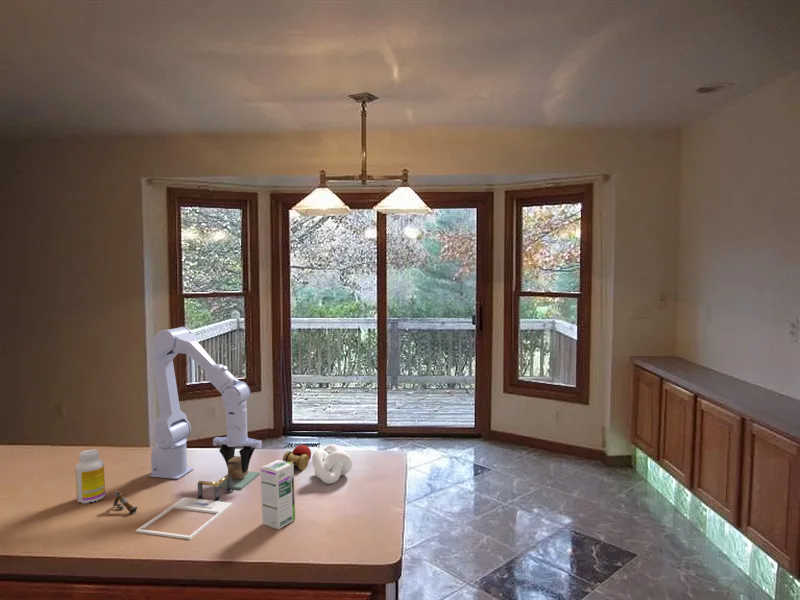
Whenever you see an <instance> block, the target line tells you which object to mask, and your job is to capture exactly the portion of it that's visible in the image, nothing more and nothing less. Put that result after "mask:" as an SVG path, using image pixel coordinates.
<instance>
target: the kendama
mask: <svg viewBox="0 0 800 600" xmlns="http://www.w3.org/2000/svg"><path fill="white" fill-rule="evenodd" d="M311 457H312V450H311V449H310V447H309V446H307V445H306V444H299V445H297V446H295V447H294V448H293V450H286V451H285V453H284V454H283V457H282V460H283V461H287V462H290V463H292V464H293V466H296V467H297V468H298V470H299V471H304V470H306V469H307V467H308V464H309V462H310V460H311Z"/></svg>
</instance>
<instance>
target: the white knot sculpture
mask: <svg viewBox="0 0 800 600" xmlns="http://www.w3.org/2000/svg"><path fill="white" fill-rule="evenodd" d="M311 457H312V465H313V470H314V475H315V476H316V477H317V478H318V479H320V480H321V481H322V482H323V483H325V484H327V485H331V484H332V483H333V484H335V483H336V482H338V480H340V479H339V478H340V477H342V475H343V476H345V475H347V474H349V473H350V472H351V469H352V468H353V460H352V457H351V456H350V455H349V454H348V453H347V452H345V451H341V448H340V447H339V446H338V445H337V444H333V443H331V444H329V445H328V446H326V447H324V449H320V448H319V449H317V450H315V451H314V452H313V454H312V456H311Z"/></svg>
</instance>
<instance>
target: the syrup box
mask: <svg viewBox="0 0 800 600" xmlns="http://www.w3.org/2000/svg"><path fill="white" fill-rule="evenodd" d="M294 466H295V465H294ZM294 466H293V464H292V463H290V462H287V461H283V459H276V460H274V461H272V462H270V463H268V464H265V465H262V466H260V467H259V469H260V471H259V472H260V494H261V520H262V521H261V523H262V524H263V525H264V526H267V527H269V528H273V529H276V530H281V529H282V528H283V527H285V526H287V525H289V524H290V523H292V522H294V521H295V520H296V503H295V500H296V499H295V473H294V472H295V471H294V468H295V467H294Z"/></svg>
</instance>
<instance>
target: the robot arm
mask: <svg viewBox="0 0 800 600" xmlns="http://www.w3.org/2000/svg"><path fill="white" fill-rule="evenodd" d="M152 343H153V349H152V354H151V358H152V359H151V361H152V367H153V372H154V373H153V374H154V381H155V386H156V393H157V401H158V406H159V414H160V415H159V417H158V418H157V420H156V421H155V423H154V428H155V429H154V430H155V431H154V432H153V433H154V434H153V439H154V442H155V444H156V445H154V446H153V448H152V450H151V454H150V456H151V457H150V458H151V459H150V460H151V474H149V477H150V478H151V477H153V478H161V479H171V480H179V479H180V478H182V477H184V476H186V475H187V474H189V473H190V472H191V471H193V470H194V467H191V466H190V467H189V466H188V459H187V457H188V454H187V451H188V450H187V441H188V438H189V436H190V435H191V433H192V427H191V424H190V422H189V420H188V417H187V414H186V413H185V412H183V411H182V410H181V407H180V401H179V400H180V399H179V398H180V397H179V394H178V393H179V392H178V386H177V380H176V372H175V366H174V359H175V358H176V357H177V356H178V354H185V355H188V357H190V358H191V359H192V360H193V361H194V362H195V363H196V364H198V366H199V367H200V368H202V369H203V370H204V371H205V372H206V377H205V378H206V379H207V381H209V383H211V384H212V385H213V387H215V388H216V390H217V391H218V392H219V393H220V394H221V397H220V398H221V400H222V403H223V404H224V407H225V412H226V413H225V417H226V421H225V422H226V436H222V437H220V436H217V437H214V438H213V439H212V446H214V447H215V446H216V447H217V446H221V448H219V449H218V450H219V453H220V454H221V456H222V458H223V460H224V461H225V465H226V467H227V469H228V461H229V460H230V459H231V458H233V457H234V456H235V454H236V453H235V452H236V447H239V448H241V449H240V450H238V452H239V455H240V457H241V461H242V472H243V473H245V472H246V471H249V466H250V462H251V459H252V456H253V453H254V452H255V450H260V449H261V448H262V446H263V445H262V444H263V441H262V440H260V439H255V438H250V437H248V409H247V407H248V402H247V400H248V399H249V398H250V396H251V388H250V387H249V386H248V385H249V384H247V382H245V381H241V380H239V379H238V378H236V377H235V376H234V375H233V374H232V373H231V372H230V371H229V368H228V366H226V365H224V364H223V363H221V364H220V363H216V362H215V361H214V360H213V358H212V357H211V356H210V354H209V353H208V352H207V351H206V350H205V348H204V347H203V346H202V345H201V344H200V343H199V342H198V339H197V336H196V334H195V333H193V332H192V331H191V329H190V328H189V327H187V326H179V327H175V328H171V329H162V330H159V332H157V333H156V335H154V337H153V338H152Z"/></svg>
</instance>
